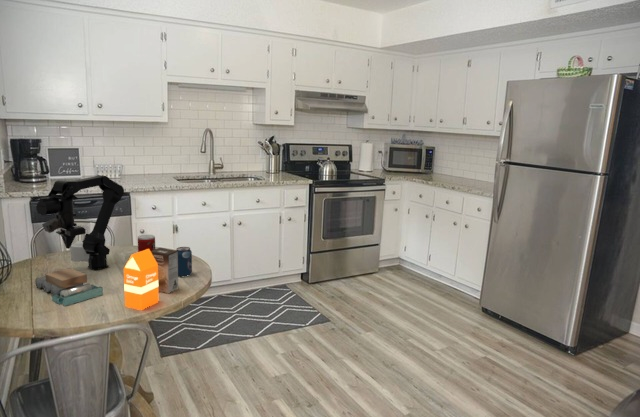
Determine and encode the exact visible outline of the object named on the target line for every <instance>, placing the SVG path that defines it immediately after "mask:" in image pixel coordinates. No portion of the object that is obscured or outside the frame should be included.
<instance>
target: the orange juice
mask: <svg viewBox="0 0 640 417" xmlns="http://www.w3.org/2000/svg"><path fill="white" fill-rule="evenodd" d="M123 282H124V283H123V285H124V286H123V288H124V289H123V290H124V306H125V307H126V308H129V309H133V310H138V311H143V310H145V308H146V309H148V308H150V307H152V306H154V305H155V304H158V303H159V302H160V300H159V299H160V298H159V297H160V295H159V293H160V292H159V291H158V287H159V285H158V264H157V262H156V260H155V259H154V257H153V255H152V253H151V251H150V249H146V250H143V251H140V252H138V251H137V252H134V253H133V254H131V255H130V257H129V259H128V260H127V262H126V264H125V266H124V267H123ZM158 301H159V302H158ZM149 306H150V307H149ZM147 307H148V308H147Z"/></svg>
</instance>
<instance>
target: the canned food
mask: <svg viewBox="0 0 640 417" xmlns="http://www.w3.org/2000/svg"><path fill="white" fill-rule="evenodd" d="M146 249H150V251H152V250H155V249H156V236H155V235H154V234H141V235H139V236H137V252H140V251H143V250H146Z"/></svg>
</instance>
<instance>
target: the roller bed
mask: <svg viewBox="0 0 640 417" xmlns="http://www.w3.org/2000/svg"><path fill="white" fill-rule="evenodd" d="M81 285H84V283H81V284H77V285H74V286H70V287H67V288H63V289H62V288H60V287H58V286H55V285H53V284H51V283H48V282H46V277H45V275H43V276H40V277H36V278H35V286H36V288H37V290H38V289H39V290H40V289H43V290H44V292H45V293H51V301H52V302H54V303H56V304H58V305H62V306H64V307H67V306H70V305H74V304H77V303H80V302H84V301H86V300H90V299H93V298H97V297H100V296H103V295H104V288H103V286H96V285H94V284H91V286H92V289H90V290H86V291H83V292H79V293H76V294H72V295H69V296H65V297H61V296H60V291H62V290H66V289H70V288H74V287H77V286H81Z"/></svg>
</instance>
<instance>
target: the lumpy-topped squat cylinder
mask: <svg viewBox="0 0 640 417" xmlns="http://www.w3.org/2000/svg"><path fill="white" fill-rule="evenodd" d="M83 240H84V238H83V239H81V240H77V241H76V242H74V243H72V245H71V247H70V259H71V261H72V262H80V261H81V262H88V259H89V255H90V254H86V252H85V250H84V248H83V242H82V241H83Z"/></svg>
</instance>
